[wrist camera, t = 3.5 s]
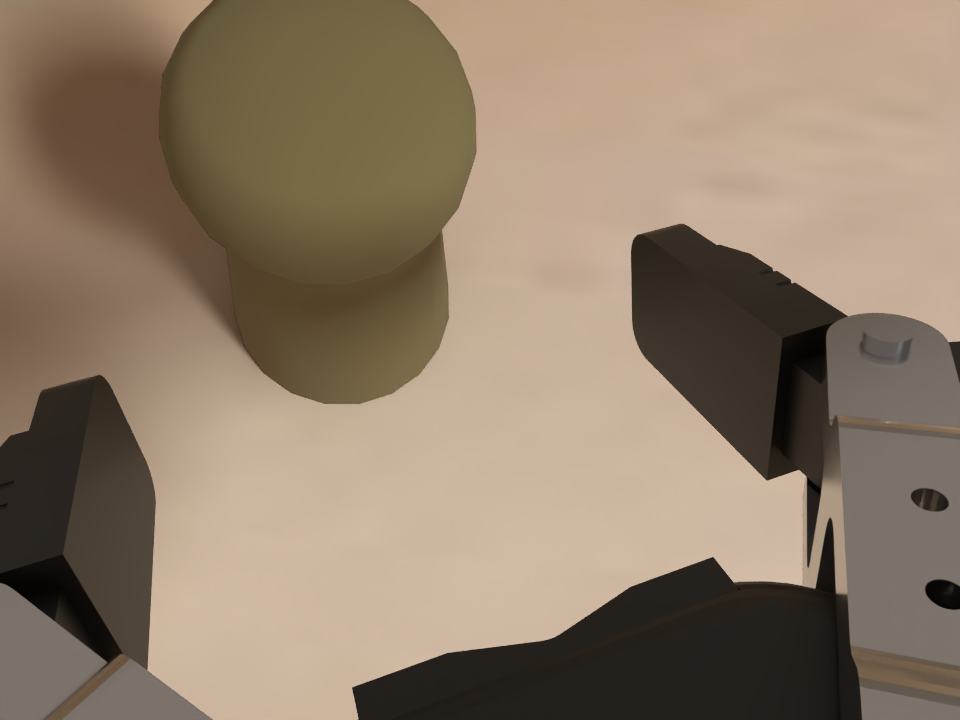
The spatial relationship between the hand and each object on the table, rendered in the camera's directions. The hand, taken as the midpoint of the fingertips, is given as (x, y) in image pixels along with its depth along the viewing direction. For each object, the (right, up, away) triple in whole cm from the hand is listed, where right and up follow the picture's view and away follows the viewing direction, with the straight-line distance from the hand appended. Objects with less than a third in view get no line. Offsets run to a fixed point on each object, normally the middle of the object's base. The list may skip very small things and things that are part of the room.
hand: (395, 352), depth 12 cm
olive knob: (-3, +2, +11) cm, 11 cm away
